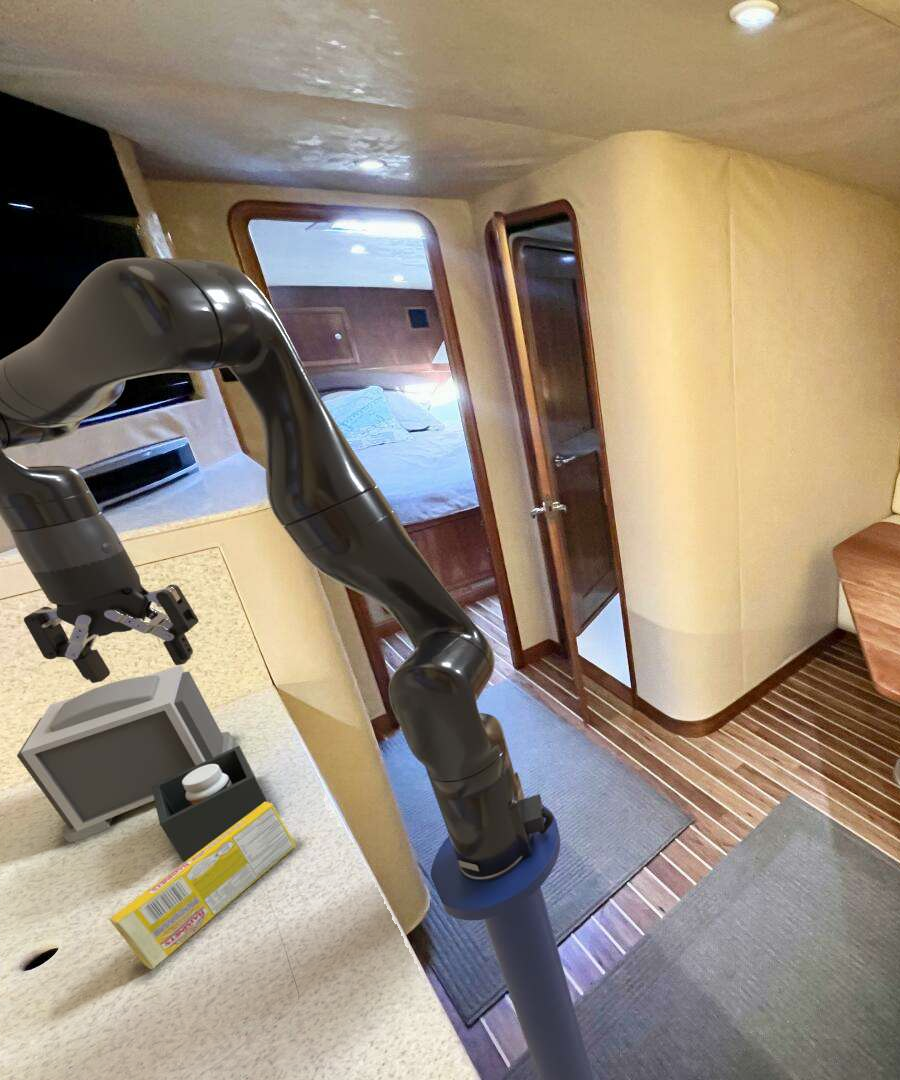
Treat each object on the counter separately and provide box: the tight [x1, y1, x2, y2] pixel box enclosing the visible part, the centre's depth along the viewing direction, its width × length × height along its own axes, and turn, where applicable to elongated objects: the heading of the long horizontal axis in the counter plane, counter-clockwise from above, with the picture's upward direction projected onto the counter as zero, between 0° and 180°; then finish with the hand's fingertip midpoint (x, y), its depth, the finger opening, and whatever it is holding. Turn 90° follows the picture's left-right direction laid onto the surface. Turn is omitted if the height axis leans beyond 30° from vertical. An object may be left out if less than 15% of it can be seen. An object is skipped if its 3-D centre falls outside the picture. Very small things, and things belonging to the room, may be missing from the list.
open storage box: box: [152, 745, 268, 863], centre depth 78 cm, size 10×10×8 cm
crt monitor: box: [16, 664, 234, 844], centre depth 84 cm, size 18×13×18 cm
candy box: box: [108, 801, 297, 970], centre depth 66 cm, size 16×2×8 cm, turn 161°
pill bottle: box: [182, 764, 232, 806], centre depth 78 cm, size 5×5×8 cm
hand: (143, 670), depth 69 cm, fingers open, 8 cm apart
